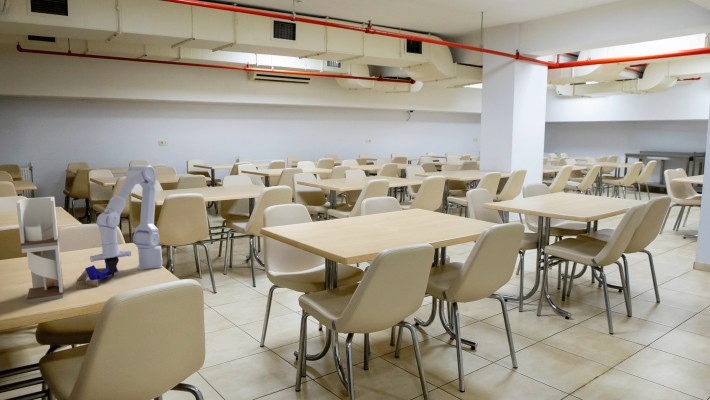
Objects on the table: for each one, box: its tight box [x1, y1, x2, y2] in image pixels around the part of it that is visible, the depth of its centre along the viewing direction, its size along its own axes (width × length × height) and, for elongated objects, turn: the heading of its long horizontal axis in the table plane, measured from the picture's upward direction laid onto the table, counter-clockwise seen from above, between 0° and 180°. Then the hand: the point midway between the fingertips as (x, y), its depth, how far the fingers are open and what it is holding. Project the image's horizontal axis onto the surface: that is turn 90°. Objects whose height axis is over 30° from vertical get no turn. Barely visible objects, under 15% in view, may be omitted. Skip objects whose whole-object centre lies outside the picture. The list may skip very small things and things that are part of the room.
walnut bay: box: [76, 267, 106, 289], centre depth 197 cm, size 7×18×3 cm, turn 18°
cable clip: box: [84, 261, 119, 281], centre depth 198 cm, size 12×4×6 cm, turn 167°
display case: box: [16, 196, 64, 304], centre depth 178 cm, size 11×11×35 cm
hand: (112, 276), depth 199 cm, fingers closed, pressing on cable clip
